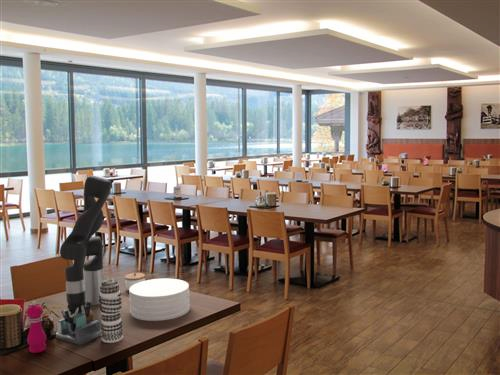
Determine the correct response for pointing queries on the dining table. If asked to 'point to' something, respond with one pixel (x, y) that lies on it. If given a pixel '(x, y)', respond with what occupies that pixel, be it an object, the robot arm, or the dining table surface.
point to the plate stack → (159, 299)
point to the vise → (82, 333)
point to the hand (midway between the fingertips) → (78, 329)
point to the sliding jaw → (62, 326)
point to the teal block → (79, 321)
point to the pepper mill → (36, 329)
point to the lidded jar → (134, 279)
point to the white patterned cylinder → (110, 311)
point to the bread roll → (90, 317)
